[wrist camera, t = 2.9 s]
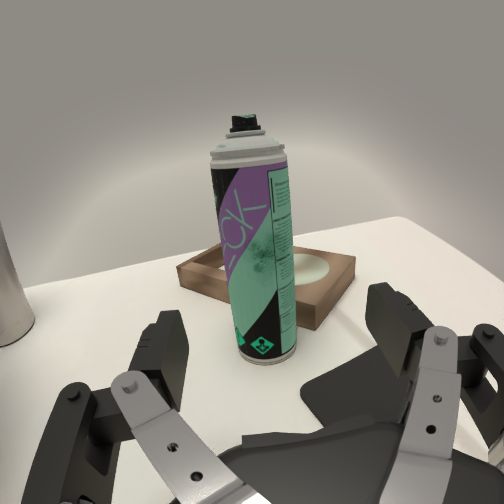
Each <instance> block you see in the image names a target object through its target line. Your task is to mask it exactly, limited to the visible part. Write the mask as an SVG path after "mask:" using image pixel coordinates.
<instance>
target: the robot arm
mask: <svg viewBox="0 0 504 504" xmlns="http://www.w3.org/2000/svg"><path fill="white" fill-rule="evenodd" d="M34 320H35V318H34V314H33V312H32V310H31V308H30V306H29V303H28V301H27V299H26V296H25V294H24V291H23V289H22V286H21V284H20V281H19V278H18V276H17V273H16V271H15V268H14V265H13V262H12V259H11V256H10V253H9V250H8V246H7V243H6V240H5V236H4V233H3V229H2V226H1V222H0V346H4V345H7V344H10V343H12V342H14V341H16V340H17V339H19V338H20V337H22V336H23V335H24V334H25V333H26V332H27V331H28V330H29V329H30V328H31V326H32V325H33V323H34ZM365 320H366V325H367V328H368V330H369V331H370V333H371V334H372V336H373V338H374V339H375V341H376V342H377V344H378V346H379V347H380V349H381V351H382V352H383V354H384V355H385V357H386V359H387V360H388V362H389V364H390V365H391V367H392V369H393V370H394V372H395V374H396V376H397V377H398V379H400V378H403V377H406V376H409V378H410V381H409V384H408V388H407V392H406V395H405V399H404V402H403V406H402V409H401V412H400V415H399V418H398V421H397V423H396V422H391V421H384V420H374V419H373V417H372V415H371V412H370V413H366V414H363V415H359V416H355V417H351V418H347V419H343V420H340V421H338V422H336V423H334V424H331V425H329V426H327V427H325V428H322V429H320V430H318V431H315V432H313V433H309V434H301V433H281V432H272V433H263V434H254V435H243V436H242V444H241V445H238V446H235V447H233V448H230V449H228V450H226V451H224V452H223V453H221V454H219V455H218V456H216V455H215V454H214V453H213V452H212V451H211V450H210V449H209V448H208V447H207V446H206V444H205V443H204V442H203V441H202V440H201V439H200V438H199V437H198V436H197V435H196V433H195V432H194V431H193V430H192V429H191V428H190V427H189V425H188V424H187V423H186V422H185V421H184V420H183V418H182V417H181V416H180V415H179V414H178V412H180V406H181V399H182V393H183V386H184V380H185V373H186V367H187V361H188V355H189V344H188V339H187V335H186V332H185V328H184V325H183V321H182V317H181V314H180V312H179V310H169V311H161V312H160V314H159V317H158V319H157V322H156V323H153V324H150V325H149V326H148V327H147V328H146V329H145V330H144V331H143V332H142V335H141V337H140V341H139V342H138V345H137V348H136V350H135V353H134V355H133V358H132V361H131V363H130V366H129V369H128V371H127V372H124V373H122V374H120V375H118V376H117V377H116V378H115V379H114V380H113V382H112V384H111V387H109V388H105V389H101V390H96V391H91V390H90V388H89V386H88V385H87V384H85V383H82V382H75V383H71V384H69V385H67V386H66V387H64V388H63V389H62V391H61V392H60V394H59V396H58V398H57V400H56V403H55V405H54V407H53V410H52V412H51V415H50V417H49V419H48V422H47V425H46V427H45V430H44V432H43V435H42V438H41V440H40V443H39V446H38V449H37V451H36V454H35V457H34V460H33V463H32V466H31V470H30V473H29V476H28V479H27V483H26V486H25V490H24V493H23V497H22V501H21V504H111V501H112V493H113V486H114V480H115V473H116V467H117V461H118V456H119V450H120V445H121V442H122V441H127V440H132V439H136V440H137V442H138V443H139V445H140V446H141V448H142V450H143V451H144V453H145V454H146V456H147V457H148V459H149V460H150V462H151V463H152V465H153V466H154V468H155V469H156V471H157V472H158V474H159V475H160V476H161V478H162V479H163V480H164V482H165V483H166V485H167V486H168V487H169V489H170V490H171V491H172V493H173V494H174V495H175V496H176V498H175V499H174V500H172V501H171V502H170V503H169V504H504V335H503V334H502V332H501V331H500V330H499V329H498V328H496V327H495V326H493V325H490V324H479V325H477V326H476V327H475V328H474V331H473V334H472V336H458V337H457V335H456V334H455V332H454V331H452V330H451V329H449V328H447V327H443V326H434V325H433V324H432V322H431V321H430V320H429V319H428V318H427V317H426V316H425V315H424V314H423V312H422V311H421V310H420V309H418V307H417V306H416V305H415V304H414V303H413V302H412V301H411V300H410V298H409V297H408V296H406V295H404V294H402V293H400V292H399V291H396V292H395V291H394V290H393V288H392V287H391V286H390V285H389V284H388V283H386V282H384V283H378V284H373V285H370V286H369V288H368V295H367V305H366V313H365ZM488 370H489V371H490V373H491V374H492V375H493V377H494V378H495V380H496V381H497V384H498V391H497V393H496V391H495V390H494V388H493V387H492V386H491V384H490V383H489V381H488V380H487V378H486V377H485V376H486V374H487V372H488ZM460 398H461V400H462V401H463V403H464V405H465V406H466V408H467V410H468V411H469V413H470V415H471V417H472V418H473V420H474V422H475V424H476V426H477V427H478V429H479V431H480V433H481V435H482V437H483V439H484V441H485V442H486V444H487V446H488V448H489V452H488V460H489V461H488V462H484V461H482V460H479V459H477V458H474V457H472V456H469V455H467V454H465V453H462V452H460V451H458V450H455V449H453V443H454V437H455V431H456V425H457V418H458V410H459V401H460Z"/></svg>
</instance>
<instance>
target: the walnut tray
mask: <svg viewBox="0 0 504 504" xmlns="http://www.w3.org/2000/svg"><path fill="white" fill-rule="evenodd" d="M293 254H294V276H295V302H296V325H298V326H301V327H305V328H308V329H311V330H316V329H317V328H318V326H319V325H320V324H321V322H322V321H323V320H324V319H325V317H326V316H327V315H328V313H329V312H330V311H331V309H332V308H333V307H334V305H335V304H336V303H337V301H338V300H339V299H340V297H341V296H342V295H343V293H344V292H345V290H346V289H347V288H348V286H349V285H350V283H351V282H352V281H353V279H354V278H355V260H356V257H355V256H349V255H343V254H337V253H331V252H325V251H320V250H314V249H308V248H302V247H296V246H293ZM222 265H224V259H223V252H222V246H221V243H219V244H217V245H216V246H214V247H212V248H210V249H208V250H206V251H204V252H202V253H200V254H198V255H197V256H195V257H193V258H191V259H189V260H187V261H185V262H183V263H181V264H180V265H178V266H176V268H177V273H178V277H179V281H180V286H182V287H185V288H187V289H190V290H193V291H196V292H198V293H201V294H204V295H207V296H210V297H212V298H215V299H218V300H221V301H224V302H227V303H230V304H231V302H230V296H229V290H228V284H227V278H226V271H224V270H220V269H217V268H219V267H220V266H222Z"/></svg>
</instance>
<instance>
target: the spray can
mask: <svg viewBox="0 0 504 504" xmlns="http://www.w3.org/2000/svg"><path fill="white" fill-rule="evenodd" d="M232 126H233V127H232V128H231V129H230V133H227V134H226V137H227V139H226V140H224V141H223V142H222V143H221V144H220V145H219V146H218V147H217V148H216V149H215V150H214V151H211V152H210V154H211V156H212V161H211V162H210V167H211V175H212V182H213V190H214V197H215V203H216V211H217V218H218V225H219V232H220V238H221V246H222V252H223V259H224V265H225V271H226V278H227V284H228V290H229V296H230V302H231V308H232V314H233V320H234V326H235V332H236V338H237V343H238V349H239V352H240V354H241V356H242V357H243V358H244V359H246V360H247V361H249V362H251V363H254V364H258V365H271V364H276V363H279V362H282V361H284V360H286V359H287V358H289V357H290V356H291V355H292V354H293V352H294V351H295V349H296V341H297V340H296V302H295V276H294V254H293V236H292V219H291V204H290V190H289V177H288V166H287V165H288V164H287V155H286V154H285V153H284V151H283V149H284V148H285V147H284V144H280V143H279V142H277V141H275V140H274V139H272V138H271V137H269V136H267V135H264V134H265V130H261V127H260V125H259V126H258V125H257V119H256V115H255V114H254V115H242V116H232Z"/></svg>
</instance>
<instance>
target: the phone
mask: <svg viewBox="0 0 504 504" xmlns="http://www.w3.org/2000/svg"><path fill="white" fill-rule="evenodd" d="M409 381H410V378H409V376H406V377H403V378H400V379H398V377H397V376H396V374H395V372H394V370H393V369H392V367H391V365H390V364H389V362H388V360H387V359H386V357H385V355H384V354H383V352H382V351H381V349H380V347H379V346H378V345H377V346H375V347H373V348H372V349H370V350H368V351H366V352H364V353H363V354H361V355H359V356H357V357H355V358H354V359H352V360H350V361H348V362H346V363H344V364H342V365H340V366H339V367H337V368H335V369H333V370H331V371H329V372H327V373H325V374H323V375H321V376H319V377H316V378H314V379H312V380H310V381H308V382H307V383H305V384H304V385H303V386H302V387H301V389H300V396H301V398H302V400H303V401H304V403H305V404H306V405H307V407H308V408H309V409H310V410H311V412H312V413H313V414H314V415H315V417H316V418H317V419H318V420H319V422H320V423H321V424H322V425H323V427H324V428H325V427H327V426H329V425H331V424H334V423H336V422H338V421H340V420H343V419H347V418H351V417H355V416H359V415H363V414H366V413H370V412H371V415H372V417H373V419H374V420H384V421H391V422H397V421H398V418H399V415H400V412H401V409H402V406H403V402H404V399H405V395H406V392H407V388H408V384H409Z"/></svg>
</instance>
